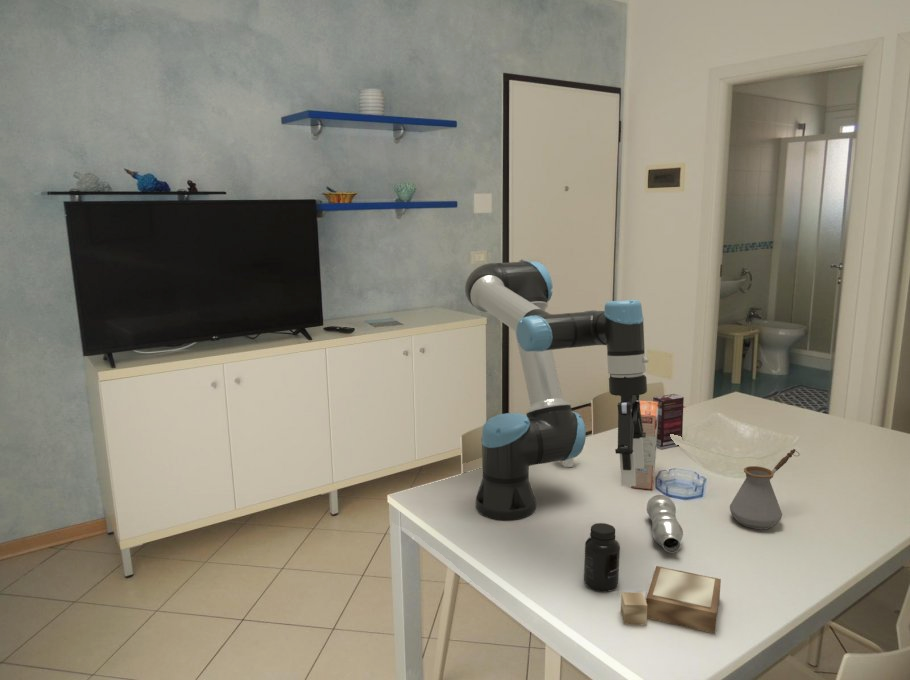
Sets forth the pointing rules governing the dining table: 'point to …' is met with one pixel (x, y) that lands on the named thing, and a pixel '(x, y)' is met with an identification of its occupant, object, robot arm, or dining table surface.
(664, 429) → the supplement box
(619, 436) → the robot arm
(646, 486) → the cracker box
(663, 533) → the plastic bottle
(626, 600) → the beech cube
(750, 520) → the coffee pot
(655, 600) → the base
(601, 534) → the supplement bottle
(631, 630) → the dining table surface
